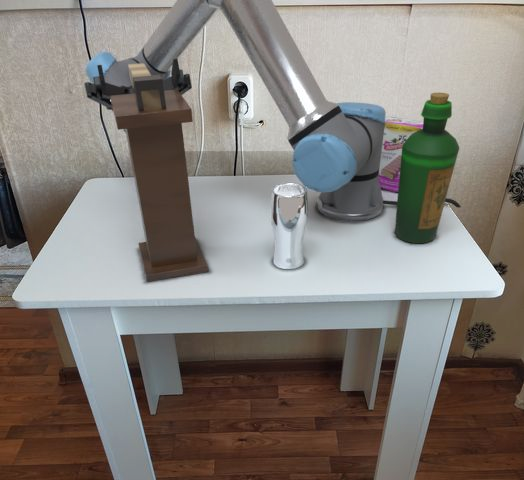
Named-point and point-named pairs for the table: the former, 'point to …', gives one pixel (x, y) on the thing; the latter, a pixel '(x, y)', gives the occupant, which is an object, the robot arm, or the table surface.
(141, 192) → the wooden pedestal stand
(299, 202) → the beer glass
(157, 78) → the long wooden bar
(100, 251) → the table surface
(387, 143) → the candy bar box
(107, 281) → the table surface
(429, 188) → the bottle
